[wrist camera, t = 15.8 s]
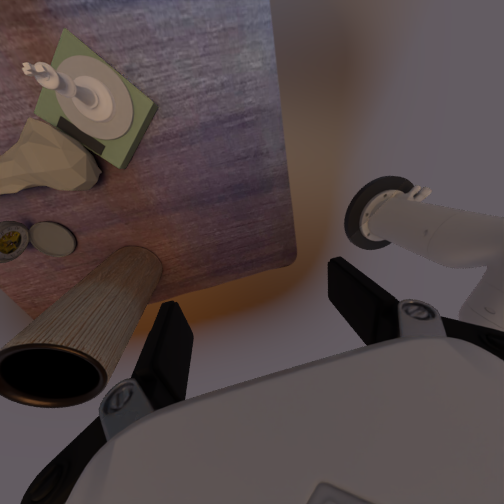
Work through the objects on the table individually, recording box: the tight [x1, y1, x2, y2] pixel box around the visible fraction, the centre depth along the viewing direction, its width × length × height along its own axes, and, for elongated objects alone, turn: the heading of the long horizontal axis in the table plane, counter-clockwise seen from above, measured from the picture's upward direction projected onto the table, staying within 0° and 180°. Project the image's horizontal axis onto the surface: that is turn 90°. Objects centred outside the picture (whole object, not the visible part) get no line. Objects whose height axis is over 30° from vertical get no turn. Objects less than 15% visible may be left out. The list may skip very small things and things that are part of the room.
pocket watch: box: [0, 221, 76, 263], centre depth 29 cm, size 8×8×10 cm
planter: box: [0, 246, 162, 408], centre depth 29 cm, size 10×10×23 cm
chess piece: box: [22, 62, 116, 123], centre depth 20 cm, size 5×5×10 cm
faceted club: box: [0, 118, 102, 195], centre depth 26 cm, size 9×8×25 cm
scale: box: [34, 28, 158, 169], centre depth 26 cm, size 11×11×3 cm
